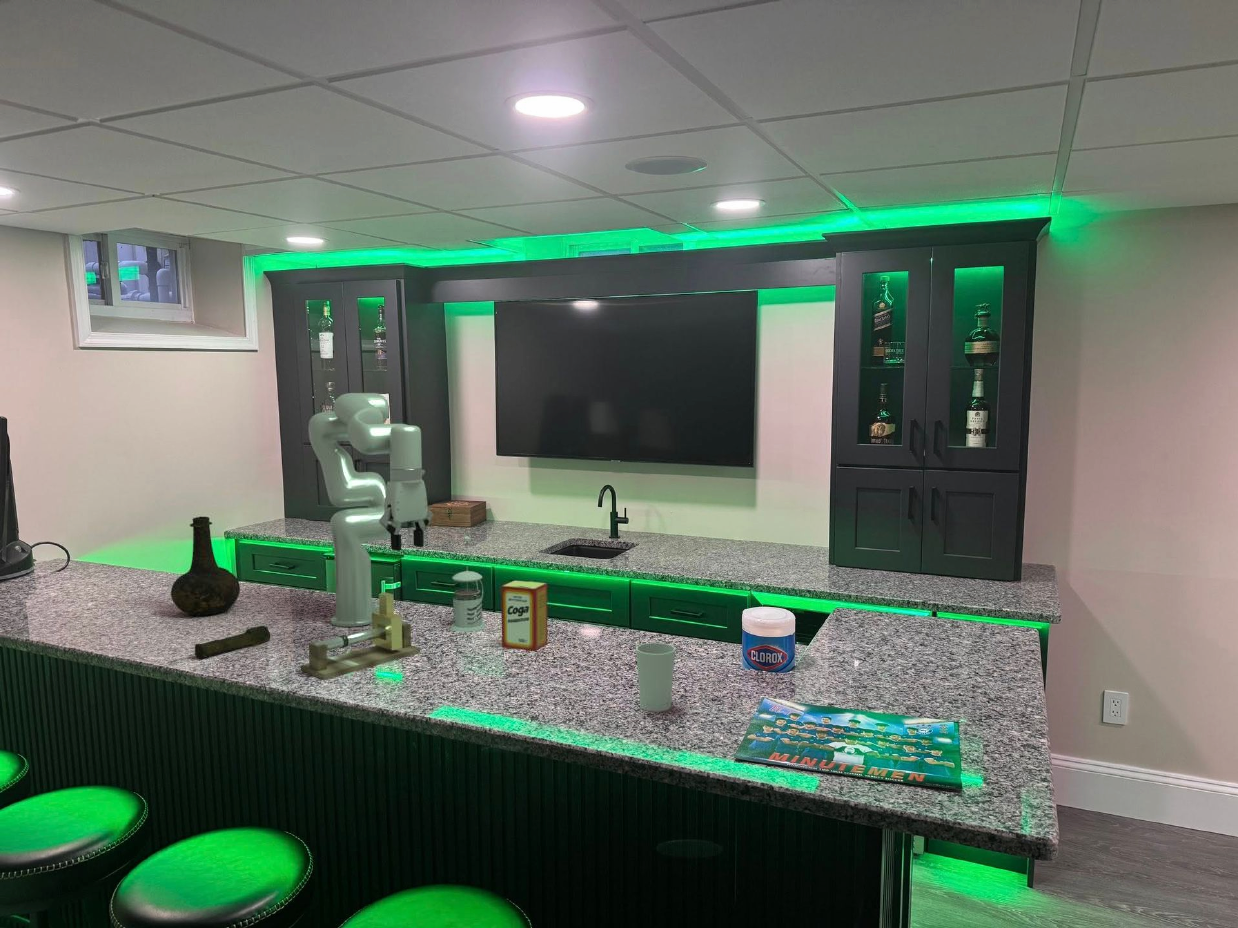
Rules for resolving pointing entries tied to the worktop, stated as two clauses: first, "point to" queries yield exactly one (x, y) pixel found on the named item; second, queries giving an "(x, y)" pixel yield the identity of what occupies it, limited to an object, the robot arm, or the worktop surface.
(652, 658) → the cup
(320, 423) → the robot arm
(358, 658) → the pipe stand
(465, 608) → the french press
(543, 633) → the baking soda box
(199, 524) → the glass bottle
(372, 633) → the pipe
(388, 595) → the collar
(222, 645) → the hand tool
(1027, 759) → the worktop surface
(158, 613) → the worktop surface
